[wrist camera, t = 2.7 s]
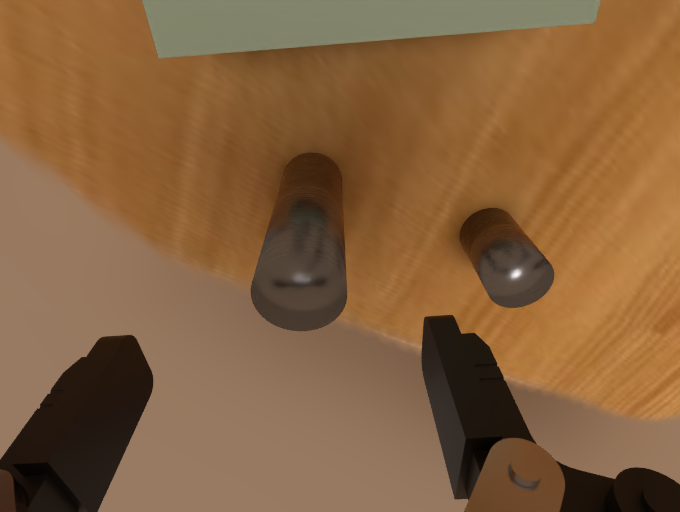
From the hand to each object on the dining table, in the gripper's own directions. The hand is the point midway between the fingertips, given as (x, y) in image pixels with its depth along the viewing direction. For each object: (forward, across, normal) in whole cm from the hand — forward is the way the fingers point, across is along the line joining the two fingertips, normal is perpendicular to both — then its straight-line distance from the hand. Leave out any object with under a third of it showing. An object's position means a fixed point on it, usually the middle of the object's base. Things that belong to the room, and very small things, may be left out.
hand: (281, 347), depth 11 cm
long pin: (+12, 0, 0) cm, 12 cm away
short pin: (+12, -10, +4) cm, 17 cm away
